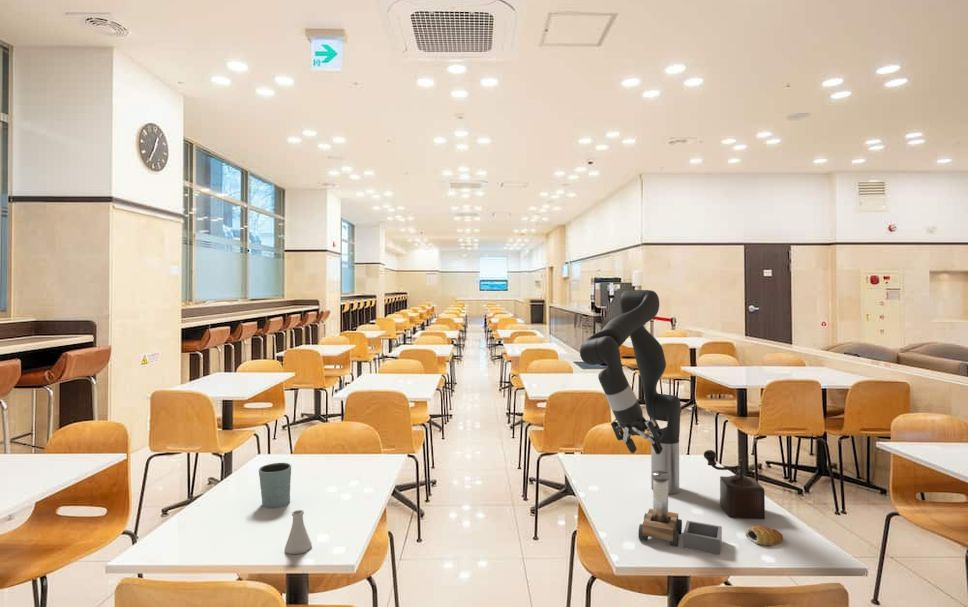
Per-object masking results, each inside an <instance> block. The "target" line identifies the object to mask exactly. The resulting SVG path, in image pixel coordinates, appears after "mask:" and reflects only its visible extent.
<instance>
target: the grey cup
mask: <svg viewBox="0 0 968 607" xmlns="http://www.w3.org/2000/svg"><path fill="white" fill-rule="evenodd" d="M258 477H259V484H260V485H259V486H260V491H261V492H260V494H261V495H260V496H261V504H262V505H261V506H262V508H265V507H266V508H265V509H277V507H279V508H283V507H285V506H288V504H290V501H291V478H292V464H290V463H287V462H277V463H276V462H275V463H274V462H273V463H269V464H266V465H263V466H261V467H259V469H258Z"/></svg>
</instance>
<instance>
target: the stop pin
mask: <svg viewBox="0 0 968 607" xmlns="http://www.w3.org/2000/svg"><path fill="white" fill-rule="evenodd" d="M652 478H653V490H652V491H653V492H652V498H653V500H652V504H653V505H652V507H653V508H652V509H653V521H655V522H661V523H667V524H668V512H669V494H668V480H669V479H670V474H669V473H667V472H664V471H653V472H652Z"/></svg>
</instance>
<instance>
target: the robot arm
mask: <svg viewBox="0 0 968 607" xmlns="http://www.w3.org/2000/svg"><path fill="white" fill-rule="evenodd" d="M619 305H620V311H621V314H619V315H617V316H615V317H613V318H612V319H610V320H609V322H607V323H606V324H605V325H604V327H603V328H602V329H601V330H599V331H598V332H596V333H594V334H592V335H591V336H589V337H587V338H586V339H584V341H583V342H582V344H581V345H580V349H579V356H580V358H581V360H582V362H584V363H585V364H587V365H589V366H594V365H595V366H596V365H601V364H606V365H607V367H606V368H604V369H602V370H600V372H599V374H598V381H599V384H600V386H601V388H602V390H603V392H604V394H605V396H606V400H607V403H608V405H609V407H610V409H611V411H612V414H613V416H614V417H615V419H614V420H612V422H611V423H610V425H611V428H612V430H613V432H614V435H615V438H616V439H617V441H622V442H623V443H625V445H626V448H627V449H628V451H629V452H630V454H635V452H636V451H637V450H638V449H637V446H636V445H635V442H634V439H633V438H631V437H632V436H633V437H634V436H639V437H642V438H643V439H644V440H646V439H647V440H648V441H649V442H650V444H651V445H650V447H651V448H650V449H651V455H650V456H651V457H650V458H651V459H650V461H651V465H650V466H651V470H650V471H651V478H650V481H651V482H650V483H651V484H650V485H651V488H650V489H651V490H652V491H653V478H652V472H653V471H664V472H667V473H669V474H670V479H669V480H668V495H673V494H677V493H679V492H680V430H681V414H682V412H681V411H682V409H681V408H682V407H681V406H682V405H681V404H682V403H681V400H680V398H679V396H677V395H673V394H667V393H666V394H664V393H659V392H658V391H657V385H658V383H659V382H660V381H659V380H660V379H661V377H662V376H663V374H664V373H665V371H666V367H667V362H666V357H665V352H664V348H663V346H662V345H661V343H660V342H659V341H658V339H656V337H654V335H653V334H652V333H650V331H648V329H647V328H646V327H645V326H644V325H645V324H647V323H648V322H650V321H651V320H653V319H655V317H656V316H657V315H658V313H659V310H660V298H659V296H658V294H657V292H656V291H654V290H650V289H631V290H630V289H629V290H624V291H623V292H622V293H621V295H620V300H619ZM629 337H630V341H631V343H632V348H633V353H634V358H635V362H636V366H637V368H638V369H637V370H638V373H639V375H640V381H641V385H642V390H643V396H644V397H643V398H644V403H645V410H646V413H647V415H648V417H649V418H650V419H646V418H645V417H644V414H643V413H644V412H643V409H642V407H641V404H640V403H639V400H638V398H637V396H636V394H635V392H634V390H633V388H632V387H631V385H630V383H629V381H628V379H627V377H626V374H625V373H624V369H623V364H622V358H621V353H620V352H621V351H620V347H621V346H622V345H623V344H624V343H625V342H626V341H627V339H628V338H629ZM657 421H660V422H661V421H662V422H667V424H666V426H664V427H662V428H661V427H660V426H659V424H658V422H657ZM646 431H647V432H646Z"/></svg>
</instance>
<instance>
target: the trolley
mask: <svg viewBox="0 0 968 607" xmlns="http://www.w3.org/2000/svg"><path fill="white" fill-rule="evenodd" d="M643 516H644V517H643V522H642V524H641V523H640V524H639V526H638V540H641V541H646V542H647V541H648V538H655V539H660V540H665V541H668V545H669V546H673V547H675V548H676V547H679V539H680V538H679V536H680V535H682V532H683V531H682V530H683V520H682V519H680V518H679V513H678V512H672V511H668V524H667V523H661V522H655V521H653V508H648V511H647V513H645V514H644V515H643Z"/></svg>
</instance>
